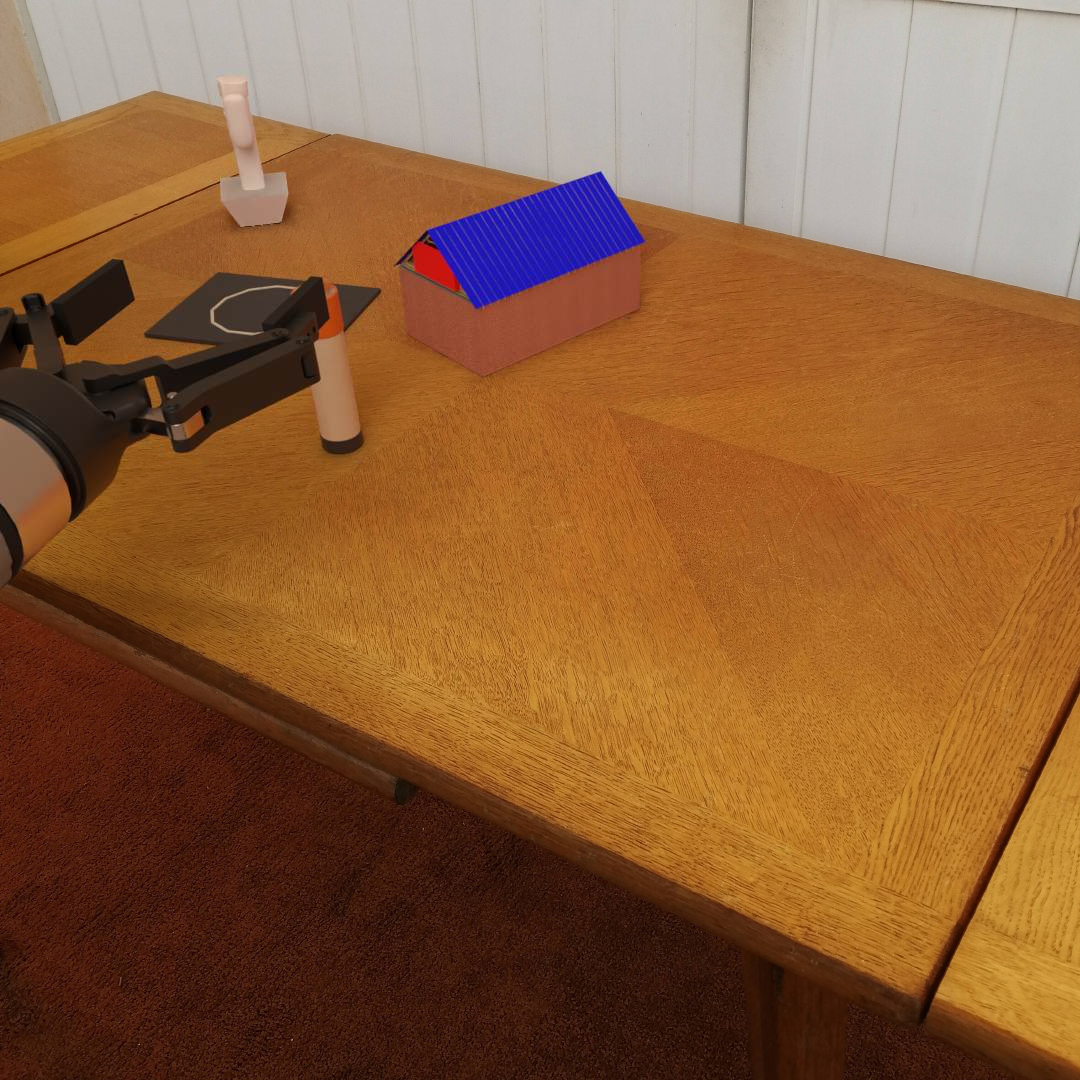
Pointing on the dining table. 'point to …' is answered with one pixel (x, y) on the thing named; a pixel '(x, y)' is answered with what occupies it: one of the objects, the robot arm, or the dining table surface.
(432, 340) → the house
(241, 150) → the figurine
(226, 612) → the dining table surface
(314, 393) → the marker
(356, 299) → the slate board
